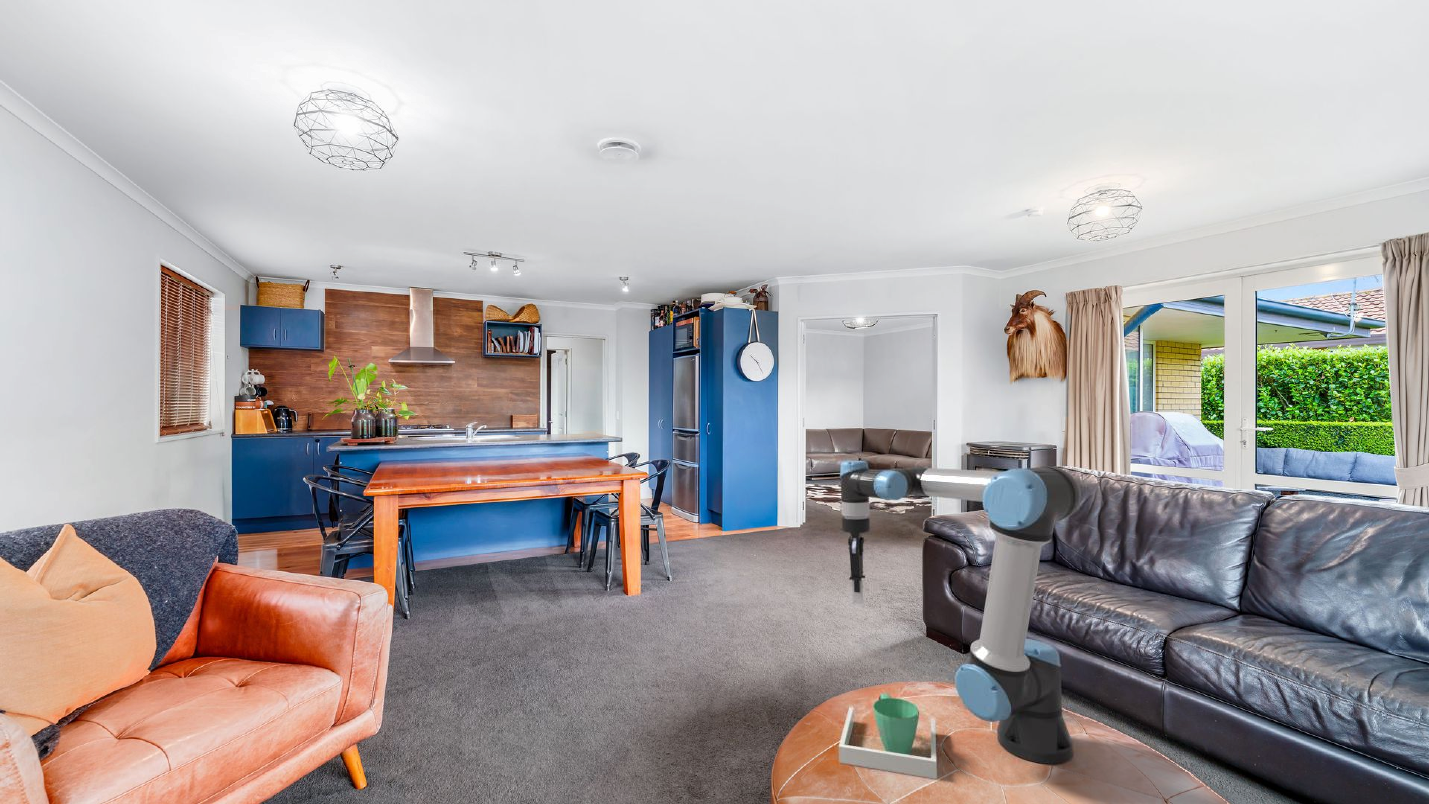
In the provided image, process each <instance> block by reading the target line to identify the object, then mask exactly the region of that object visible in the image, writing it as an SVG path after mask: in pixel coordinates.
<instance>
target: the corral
mask: <svg viewBox="0 0 1429 804" xmlns="http://www.w3.org/2000/svg"><path fill="white" fill-rule="evenodd" d="M854 712H855V709H854V707H852V706H849V708H848V711H847V715H846V719H845V721H844V726H843V729H842V734H841V736H840V741H839V744H838V763H840V764H845V765H850V766H856V767H864V768H870V769H874V770H881V771H885V772H886V771H888V772H894V773H898V774H905V775H908V776H909V775H910V776H915V777H922V778H928V779H934V780H938V773H937V772H938V769H937V768H938V766H937V737H936V736H937V734H936V733H937V732H936V718H935V717H934V718H933V717H930V757H925V756H918V755H910V754H909V755H906V754H900V753H894V752H887V751H885V750H880V749H873V748H869V747H868V748H866V747H862V746H855V745H849V744H850V740H851V735H852V732H853V727H854V723H855V716H854V715H855V713H854Z"/></svg>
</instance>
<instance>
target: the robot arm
mask: <svg viewBox="0 0 1429 804" xmlns="http://www.w3.org/2000/svg"><path fill="white" fill-rule="evenodd" d="M839 479H840V496H841V497H840V498H841V504H839V505H838V506H839V508H840V509H841V515H842V516H843V517H842V518H841V530H842V531H843V532H844V533H850V536H849V538H848V540H847V541H848V542H847V543H848V552H849V553H848V554H849V561H850V563H849V565H850V576H849V577H848V579H849V580H850V581H851V589H852V590H851V593H852V596H851V597H852V604H855V605H864V588H863V587H864V582H863V579H866V575H864V544H865V537H862V534H867V533H868V532H870V530H871V526H870V525H871V523H870V522H871V521H870V518H869V516H870V498H874V499H881V500H884V501H899V500H901V499H902V498H903V497H910V496H922V497H933V498H934V497H935V498H944V499H954V500H963V501H973V502H982V507H983V510H984V511H985V512H986V513H987V514H986V516H987V518H988V519H989V529H990V530H991V532H993V534H994V536H995V541H994V545H993V553H992V560H991V563H990V564H991V566H990V572H989V579H988V585H987V591H986V598H985V603H984V609H983V610H984V611H983V616H982V622H981V628H980V635H979V639H976V640H975V641H973V642H972V643H971V645H970V649H969V655H968V660H967V661H968V662H967V663H964V664H962V665H961V666H960V667H959V668H958V669H957V671H956V673H955V676H954V684H955V689H956V692H957V694H958V697H959V698H960V699H961V702H962V704H963V705H964V706H965V707H966V708H967V710H968V711H969V712H970V713H972V715H974V716H975V717H976V718H978V719H980V720H982V721H985V722H989V723H996V722H998V723H997V728H996V733H997V741H998V743H999V745H1000V746H1001V747H1002V748H1003V749H1004V750H1006V751H1007V752H1009V753H1010V754H1012V755H1014V756H1016V757H1018V758H1020V759H1023V760H1026V761H1030V762H1035V763H1039V764H1047V765H1049V764H1050V765H1052V764H1053V765H1055V764H1062V763H1066V762H1068V761H1070V760H1071V759H1072V758H1073V756H1074V743H1073V740H1072V737H1071V735H1070V732H1069V728H1068V726H1067V724H1066V722H1065V719H1064V717H1063V702H1062V699H1063V697H1062V677H1061V676H1062V674H1061V673H1062V672H1061V667H1062V664H1061V661H1060V653H1059V651H1058V650H1057V649H1056V648H1055V647H1053V646H1052V645H1051V644H1048V643H1046V642H1042V641H1039V640H1035V639H1030V638H1027V636H1028V635H1027V634H1028V630H1029V629H1028V628H1029V622H1030V617H1031V610H1032V605H1033V601H1034V600H1033V599H1034V593H1035V587H1036V581H1037V576H1038V571H1039V570H1038V569H1039V564H1040V557H1041V553H1042V547H1043V546H1045V545H1046V544H1048V543H1051V542H1052V539H1053V533H1054V529H1055V528H1054V527H1055V522H1059V521H1062V520H1063V521H1064V520H1066V519H1067V518H1069V517H1071V516H1072V515H1073V514H1074V513H1076V510H1078V508H1079V506H1080V503H1081V499H1082V493H1081V488H1080V486H1079V483H1078V482H1077V480H1076V479H1075V478H1074V476H1072V475H1071V474H1070V473H1069V472H1068V471H1066V470H1065V469H1062V468H1059V467H1055V466H1039V467H1038V466H1037V467H1028V468H1026V467H1025V468H1020V467H1018V468H1012V469H1011V468H1010V469H1008V470H1006V471H998V470H997V471H996V470H978V469H977V470H974V469H958V468H957V469H953V468H952V469H951V468H936V467H935V468H934V467H929V466H914V467H905V468H893V469H892V468H889V469H871V468H869V463H868V461H865V460H844V461H842V462H840V473H839Z"/></svg>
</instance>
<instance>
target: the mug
mask: <svg viewBox="0 0 1429 804" xmlns="http://www.w3.org/2000/svg"><path fill="white" fill-rule="evenodd" d="M872 709H873V714H874V718H875V722H876V727H877V730H878V734H879V736H880V739H881V743H882V745H883V749H884V751H887V752H894V753H900V754H906V755H910V753H911V750H912V748H913V745H914V742H915V738H916V734H917V729H918V723H919V718H920V709H919V708H918V706H917V705H915V704H914V703H913V702H910V701H909V700H906V699H902V698H897V697H892V696H891V695H890V694H889V693H887V692H886V693H881V694H879V697H878V699H877V700H876V701H875V702H874V703H873V708H872Z"/></svg>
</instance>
